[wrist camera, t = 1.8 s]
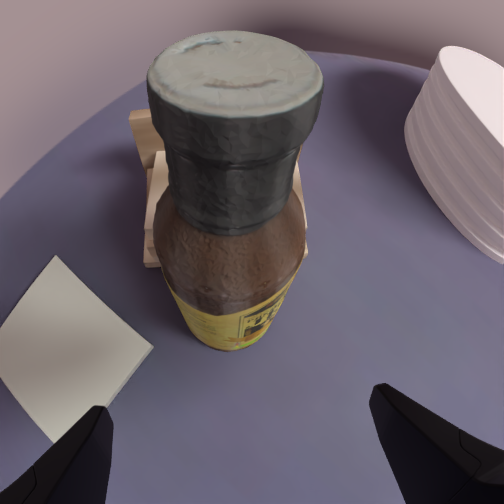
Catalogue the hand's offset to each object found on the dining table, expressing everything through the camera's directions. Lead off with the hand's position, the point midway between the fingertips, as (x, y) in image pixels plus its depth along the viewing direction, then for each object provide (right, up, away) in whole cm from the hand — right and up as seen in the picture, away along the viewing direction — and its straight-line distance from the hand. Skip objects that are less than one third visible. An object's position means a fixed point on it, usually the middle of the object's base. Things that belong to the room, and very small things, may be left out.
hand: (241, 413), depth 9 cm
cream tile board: (-15, -3, +12) cm, 20 cm away
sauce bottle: (-1, +1, +15) cm, 15 cm away
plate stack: (+33, +16, +24) cm, 44 cm away
